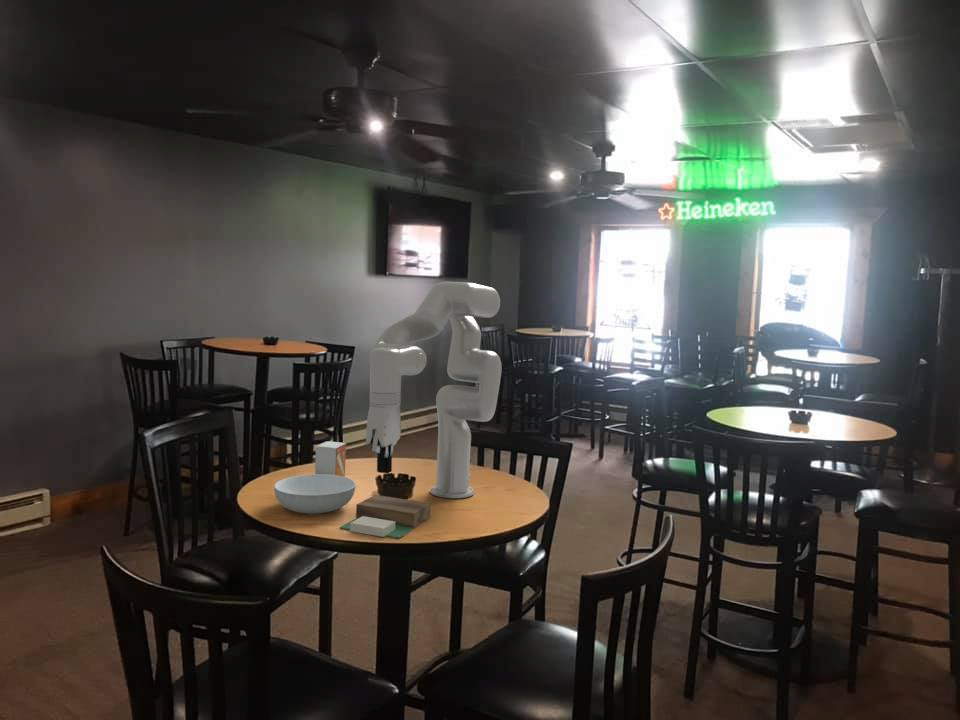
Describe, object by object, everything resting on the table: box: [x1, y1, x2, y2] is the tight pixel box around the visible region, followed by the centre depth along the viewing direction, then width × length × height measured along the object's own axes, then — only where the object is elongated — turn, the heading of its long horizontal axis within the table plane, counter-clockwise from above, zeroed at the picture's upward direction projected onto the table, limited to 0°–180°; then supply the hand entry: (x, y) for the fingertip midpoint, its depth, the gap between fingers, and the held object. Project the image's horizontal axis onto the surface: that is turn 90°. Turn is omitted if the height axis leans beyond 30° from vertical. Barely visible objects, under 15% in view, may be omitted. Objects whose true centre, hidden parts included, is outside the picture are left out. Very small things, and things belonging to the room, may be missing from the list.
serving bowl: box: [273, 473, 357, 515], centre depth 195 cm, size 21×21×7 cm
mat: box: [339, 518, 414, 539], centre depth 181 cm, size 8×16×1 cm, turn 70°
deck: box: [355, 494, 431, 530], centre depth 190 cm, size 10×16×4 cm, turn 70°
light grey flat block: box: [350, 516, 395, 538], centre depth 179 cm, size 6×9×2 cm, turn 70°
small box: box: [314, 440, 347, 477], centre depth 215 cm, size 8×6×13 cm
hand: (384, 471), depth 183 cm, fingers closed
